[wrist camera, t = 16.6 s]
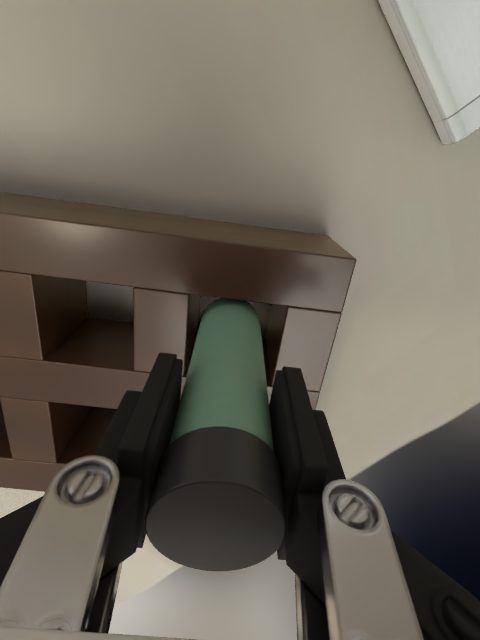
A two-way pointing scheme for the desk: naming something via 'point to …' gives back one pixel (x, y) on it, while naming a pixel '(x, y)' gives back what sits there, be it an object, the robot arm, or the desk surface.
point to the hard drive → (441, 59)
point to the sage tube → (221, 453)
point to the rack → (137, 314)
